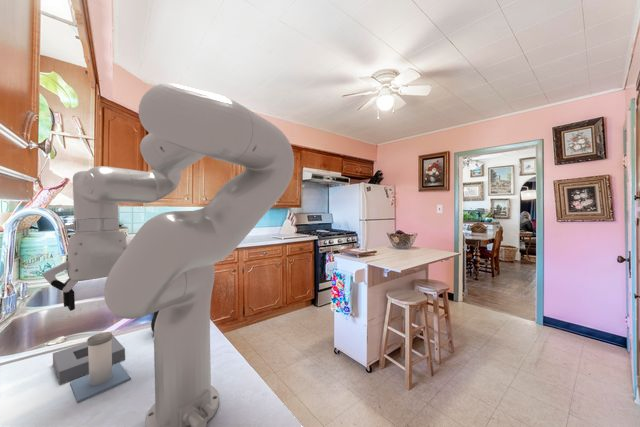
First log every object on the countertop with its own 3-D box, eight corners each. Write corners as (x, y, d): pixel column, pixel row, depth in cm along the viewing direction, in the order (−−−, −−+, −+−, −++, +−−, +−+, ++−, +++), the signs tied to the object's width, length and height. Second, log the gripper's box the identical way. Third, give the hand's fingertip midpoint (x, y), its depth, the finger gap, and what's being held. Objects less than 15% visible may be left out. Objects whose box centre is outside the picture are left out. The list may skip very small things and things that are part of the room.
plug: (115, 378, 58) (114, 335, 58) (90, 388, 55) (89, 343, 54) (110, 371, 61) (109, 330, 60) (86, 380, 57) (85, 337, 57)
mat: (130, 379, 58) (130, 377, 58) (77, 403, 51) (77, 400, 51) (119, 364, 64) (119, 362, 64) (70, 384, 57) (70, 382, 57)
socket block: (125, 359, 66) (124, 348, 66) (59, 385, 57) (59, 371, 57) (112, 344, 74) (112, 334, 73) (52, 364, 64) (52, 353, 64)
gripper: (42, 230, 48) (46, 319, 48) (147, 224, 61) (150, 294, 62) (39, 229, 52) (42, 311, 53) (137, 224, 66) (140, 289, 66)
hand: (100, 302), depth 57 cm, fingers open, 9 cm apart
